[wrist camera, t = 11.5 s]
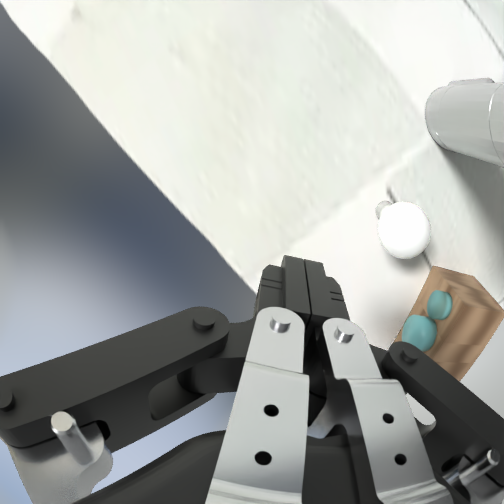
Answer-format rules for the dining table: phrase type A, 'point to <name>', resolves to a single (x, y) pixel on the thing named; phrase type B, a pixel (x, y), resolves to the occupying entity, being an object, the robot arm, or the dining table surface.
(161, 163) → the dining table surface
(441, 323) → the mount
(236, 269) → the dining table surface
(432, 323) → the knob
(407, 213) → the lightbulb
